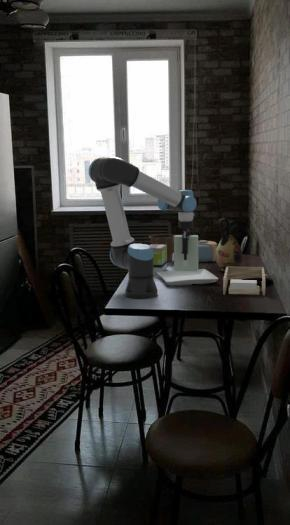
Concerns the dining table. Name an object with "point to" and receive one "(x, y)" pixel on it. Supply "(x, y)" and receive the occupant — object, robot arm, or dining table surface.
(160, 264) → the tea box
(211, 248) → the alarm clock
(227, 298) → the dining table surface
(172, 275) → the square plate
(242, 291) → the lower offcut
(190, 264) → the tall panel
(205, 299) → the dining table surface
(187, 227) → the robot arm
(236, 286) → the upper offcut
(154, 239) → the plant pot
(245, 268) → the frame
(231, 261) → the ceramic jug
